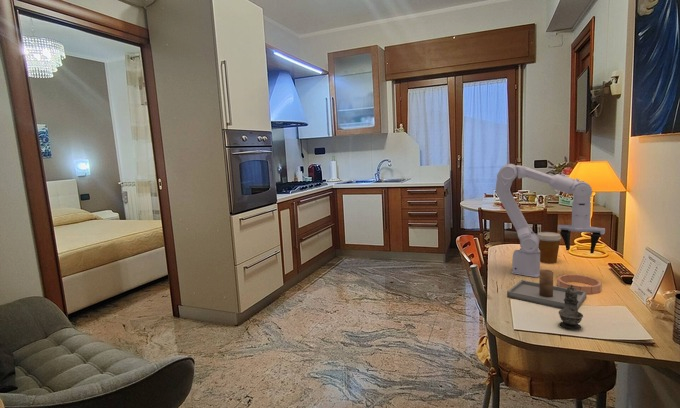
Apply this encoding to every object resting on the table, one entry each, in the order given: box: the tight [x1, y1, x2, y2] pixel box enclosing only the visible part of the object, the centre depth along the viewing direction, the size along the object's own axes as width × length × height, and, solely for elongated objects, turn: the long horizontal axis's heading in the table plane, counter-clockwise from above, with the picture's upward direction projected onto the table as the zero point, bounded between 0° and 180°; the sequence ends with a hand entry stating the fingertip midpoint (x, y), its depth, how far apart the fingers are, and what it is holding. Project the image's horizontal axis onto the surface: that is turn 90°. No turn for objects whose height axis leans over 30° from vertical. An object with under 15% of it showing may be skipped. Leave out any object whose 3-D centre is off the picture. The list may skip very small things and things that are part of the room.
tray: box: [506, 279, 587, 311], centre depth 126 cm, size 20×14×2 cm
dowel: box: [538, 269, 554, 297], centre depth 125 cm, size 4×4×8 cm
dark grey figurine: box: [558, 284, 584, 331], centre depth 105 cm, size 6×6×12 cm
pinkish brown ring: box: [556, 274, 603, 295], centre depth 133 cm, size 13×13×2 cm
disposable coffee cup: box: [536, 231, 562, 264], centre depth 163 cm, size 10×10×12 cm
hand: (579, 251), depth 140 cm, fingers open, 7 cm apart
